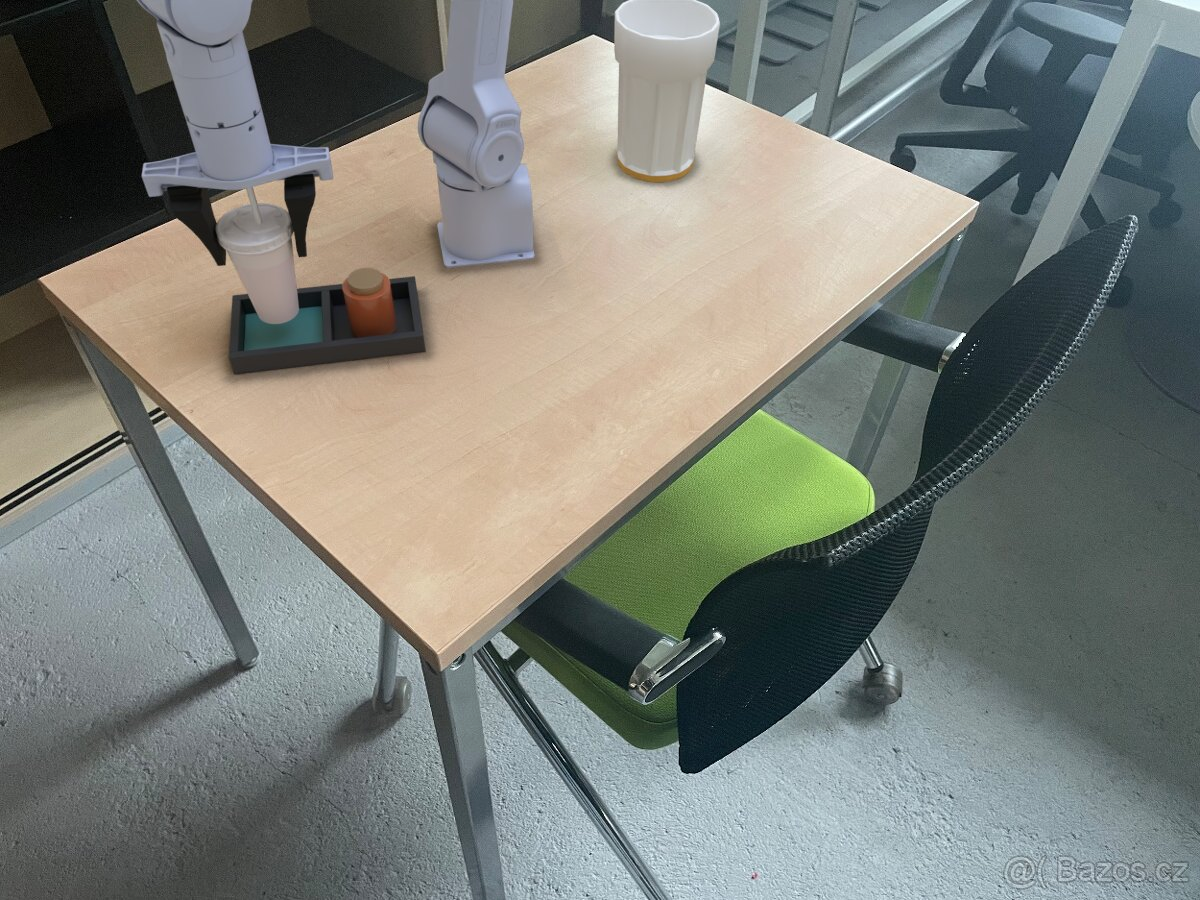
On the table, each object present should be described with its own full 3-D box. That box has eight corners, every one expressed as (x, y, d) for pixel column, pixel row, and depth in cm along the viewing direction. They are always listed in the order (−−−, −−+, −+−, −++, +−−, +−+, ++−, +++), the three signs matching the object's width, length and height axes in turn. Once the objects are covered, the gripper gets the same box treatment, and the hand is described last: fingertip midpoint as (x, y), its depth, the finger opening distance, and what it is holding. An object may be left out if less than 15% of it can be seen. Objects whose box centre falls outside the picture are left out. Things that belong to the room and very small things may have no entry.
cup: (589, 168, 113) (594, 21, 100) (637, 128, 120) (647, -15, 107) (673, 198, 109) (688, 49, 96) (718, 155, 116) (738, 11, 103)
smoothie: (297, 338, 86) (261, 205, 76) (230, 328, 87) (185, 194, 76) (324, 294, 90) (293, 162, 80) (260, 285, 91) (221, 153, 81)
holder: (238, 314, 93) (232, 295, 91) (417, 294, 96) (414, 275, 94) (235, 377, 87) (228, 358, 85) (426, 354, 90) (423, 335, 88)
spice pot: (395, 309, 94) (387, 261, 90) (398, 338, 91) (390, 290, 87) (349, 314, 93) (339, 266, 89) (351, 343, 90) (341, 295, 86)
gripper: (317, 78, 78) (344, 220, 88) (128, 92, 75) (179, 236, 85) (320, 122, 73) (348, 266, 83) (119, 138, 70) (174, 285, 81)
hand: (263, 254), depth 84 cm, fingers closed on smoothie, 6 cm apart
